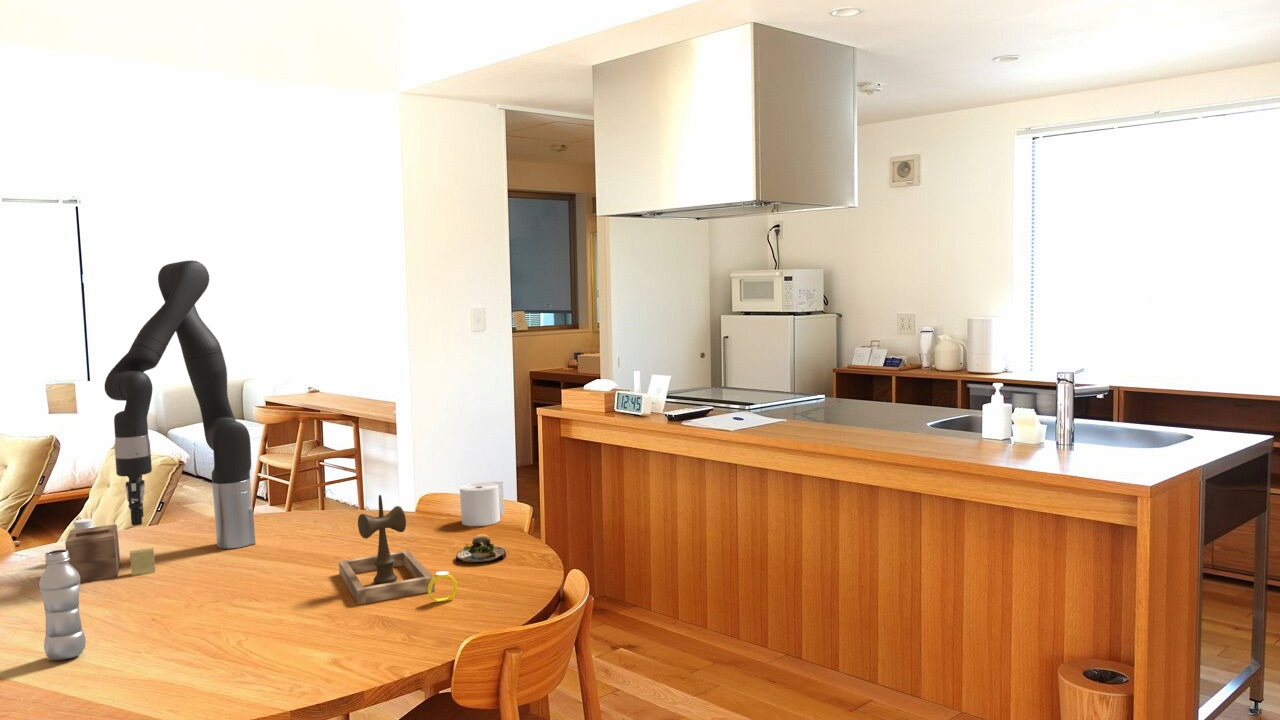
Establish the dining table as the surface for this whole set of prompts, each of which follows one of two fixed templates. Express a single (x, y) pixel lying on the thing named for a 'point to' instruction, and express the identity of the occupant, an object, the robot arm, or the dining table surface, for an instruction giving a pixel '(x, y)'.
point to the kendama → (383, 538)
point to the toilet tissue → (481, 503)
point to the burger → (480, 550)
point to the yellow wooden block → (142, 561)
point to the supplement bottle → (83, 524)
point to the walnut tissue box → (94, 552)
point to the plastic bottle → (61, 607)
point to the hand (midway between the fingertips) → (137, 521)
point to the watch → (442, 575)
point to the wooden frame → (388, 589)
